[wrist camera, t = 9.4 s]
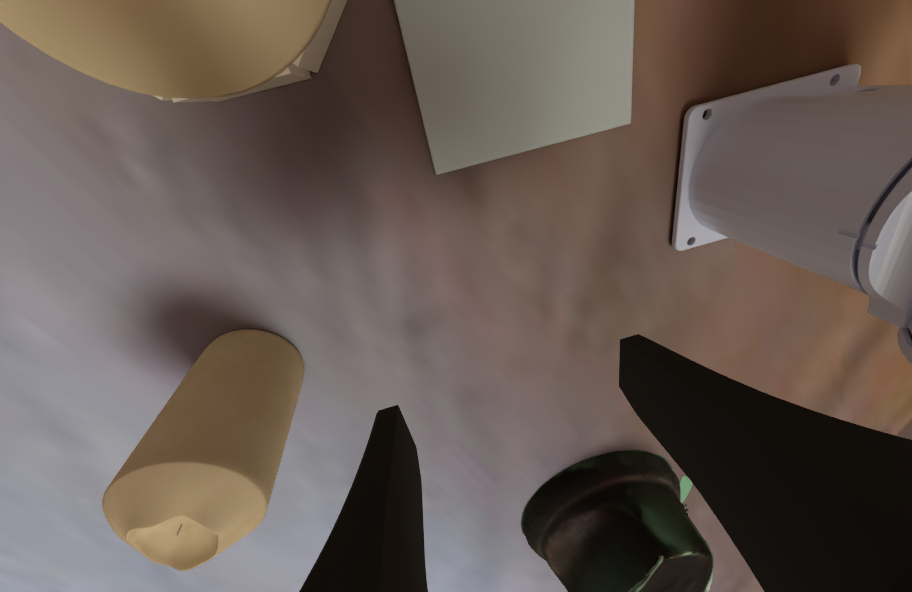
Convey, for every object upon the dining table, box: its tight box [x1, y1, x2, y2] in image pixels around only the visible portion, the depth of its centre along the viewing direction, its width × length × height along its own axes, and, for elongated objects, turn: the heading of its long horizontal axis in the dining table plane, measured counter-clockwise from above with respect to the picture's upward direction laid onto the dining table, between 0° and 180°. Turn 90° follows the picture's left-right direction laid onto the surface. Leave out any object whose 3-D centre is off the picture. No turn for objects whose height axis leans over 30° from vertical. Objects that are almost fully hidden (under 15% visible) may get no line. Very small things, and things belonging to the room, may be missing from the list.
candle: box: [102, 329, 304, 571], centre depth 17 cm, size 6×6×10 cm
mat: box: [394, 0, 634, 175], centre depth 15 cm, size 10×10×1 cm
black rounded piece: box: [521, 450, 714, 592], centre depth 32 cm, size 20×20×9 cm
